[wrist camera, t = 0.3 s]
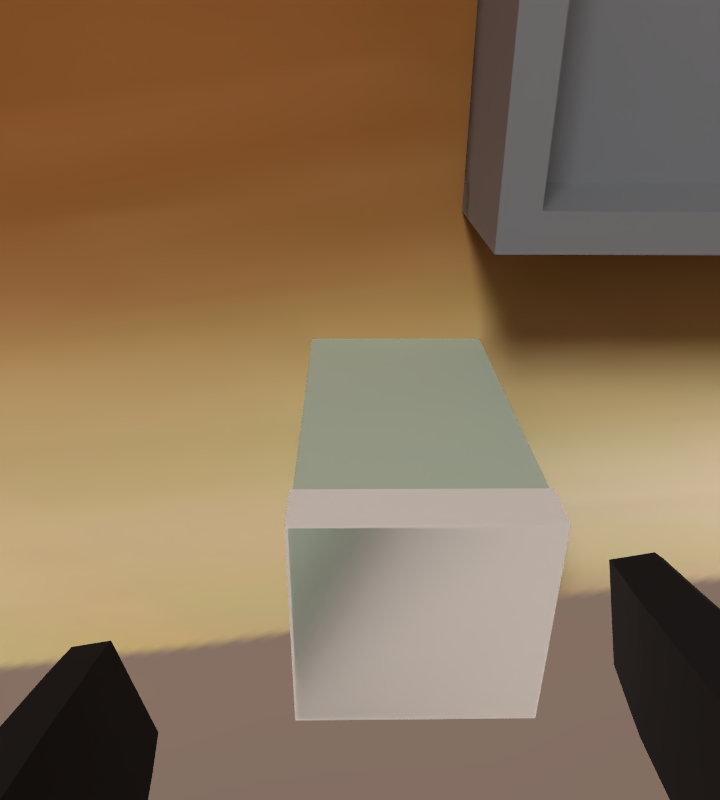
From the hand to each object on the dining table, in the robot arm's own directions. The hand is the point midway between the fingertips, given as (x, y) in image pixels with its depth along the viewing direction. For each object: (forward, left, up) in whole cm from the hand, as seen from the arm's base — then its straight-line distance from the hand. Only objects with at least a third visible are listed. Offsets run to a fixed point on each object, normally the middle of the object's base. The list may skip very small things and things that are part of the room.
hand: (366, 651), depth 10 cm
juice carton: (-1, +1, -10) cm, 10 cm away
